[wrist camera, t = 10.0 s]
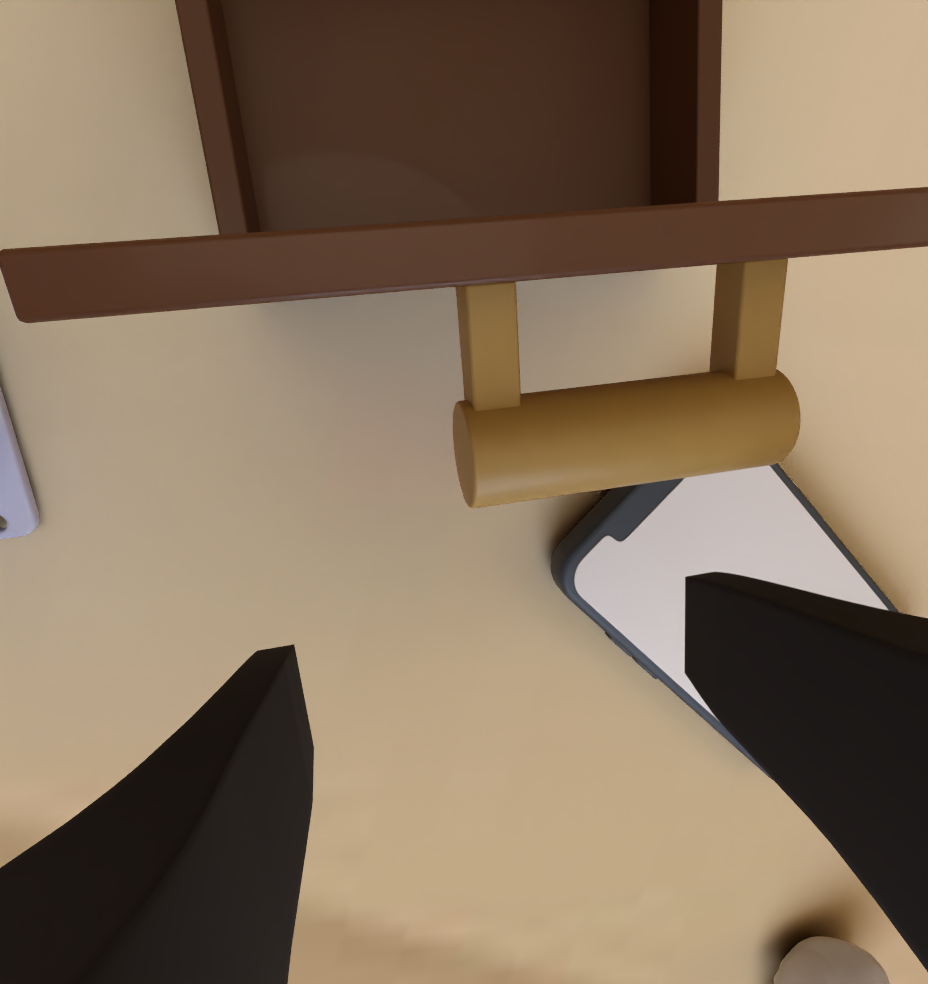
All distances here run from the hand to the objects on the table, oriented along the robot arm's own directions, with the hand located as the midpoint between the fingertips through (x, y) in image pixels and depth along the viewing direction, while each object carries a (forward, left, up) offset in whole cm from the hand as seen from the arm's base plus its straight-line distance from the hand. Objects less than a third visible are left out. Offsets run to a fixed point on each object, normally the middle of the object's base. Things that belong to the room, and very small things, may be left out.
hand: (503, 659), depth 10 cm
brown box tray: (+2, +12, -10) cm, 16 cm away
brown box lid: (+2, +7, -2) cm, 8 cm away
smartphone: (+12, -6, -11) cm, 17 cm away
